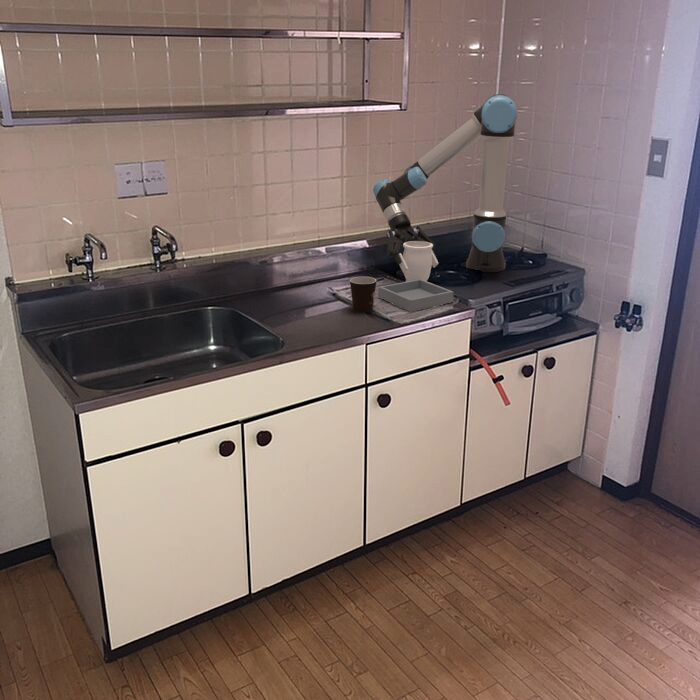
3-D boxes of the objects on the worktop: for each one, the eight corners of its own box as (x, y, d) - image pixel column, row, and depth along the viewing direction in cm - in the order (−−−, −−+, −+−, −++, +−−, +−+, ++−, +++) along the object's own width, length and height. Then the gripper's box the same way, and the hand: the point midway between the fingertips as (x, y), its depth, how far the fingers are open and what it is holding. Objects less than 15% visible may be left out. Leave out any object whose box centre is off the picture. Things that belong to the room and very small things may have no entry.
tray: (420, 289, 272) (420, 279, 270) (452, 303, 258) (453, 291, 256) (378, 298, 263) (378, 286, 261) (410, 312, 249) (410, 300, 247)
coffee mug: (365, 315, 246) (366, 285, 242) (344, 310, 250) (344, 280, 247) (386, 306, 254) (387, 277, 251) (365, 301, 259) (365, 273, 255)
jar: (434, 282, 280) (436, 242, 275) (425, 290, 272) (427, 248, 266) (407, 279, 285) (408, 239, 279) (397, 286, 276) (398, 245, 270)
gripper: (419, 221, 289) (443, 268, 283) (364, 228, 277) (388, 278, 271) (428, 209, 283) (453, 257, 277) (373, 216, 271) (397, 267, 265)
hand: (421, 268), depth 274 cm, fingers open, 13 cm apart
